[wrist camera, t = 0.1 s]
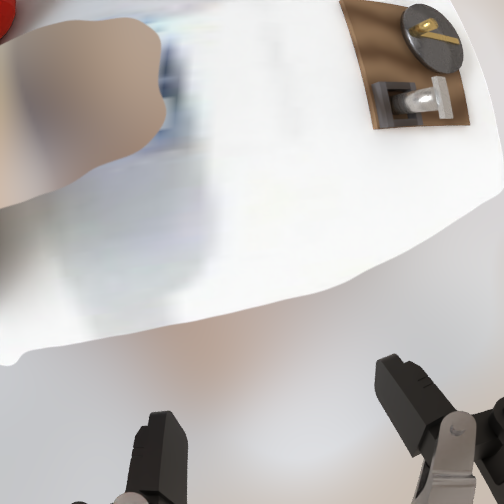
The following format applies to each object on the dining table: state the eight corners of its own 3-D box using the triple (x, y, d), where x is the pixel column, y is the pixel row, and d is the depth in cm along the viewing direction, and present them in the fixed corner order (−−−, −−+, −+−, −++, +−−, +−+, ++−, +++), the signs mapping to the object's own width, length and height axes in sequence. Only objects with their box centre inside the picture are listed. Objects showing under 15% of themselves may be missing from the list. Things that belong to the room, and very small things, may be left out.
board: (339, 1, 28) (348, -8, 25) (437, 17, 29) (449, 12, 26) (373, 129, 35) (386, 128, 32) (465, 125, 36) (478, 125, 33)
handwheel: (390, 1, 26) (413, -15, 20) (444, 14, 27) (468, 4, 21) (412, 71, 30) (441, 63, 24) (464, 77, 31) (491, 73, 25)
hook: (382, 89, 32) (432, 75, 22) (398, 89, 32) (449, 77, 22) (389, 122, 34) (441, 118, 24) (404, 121, 34) (457, 118, 24)
